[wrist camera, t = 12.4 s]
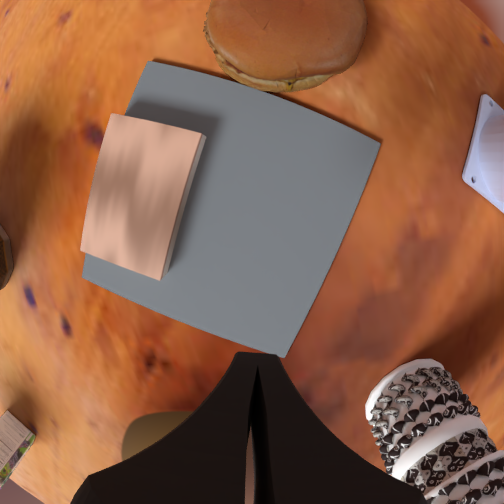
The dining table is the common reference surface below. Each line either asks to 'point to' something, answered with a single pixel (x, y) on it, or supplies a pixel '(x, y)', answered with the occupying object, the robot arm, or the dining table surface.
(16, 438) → the syrup box
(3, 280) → the ceramic cup
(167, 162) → the tile
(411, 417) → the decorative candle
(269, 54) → the burger
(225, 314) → the mat
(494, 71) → the dining table surface
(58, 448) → the dining table surface
